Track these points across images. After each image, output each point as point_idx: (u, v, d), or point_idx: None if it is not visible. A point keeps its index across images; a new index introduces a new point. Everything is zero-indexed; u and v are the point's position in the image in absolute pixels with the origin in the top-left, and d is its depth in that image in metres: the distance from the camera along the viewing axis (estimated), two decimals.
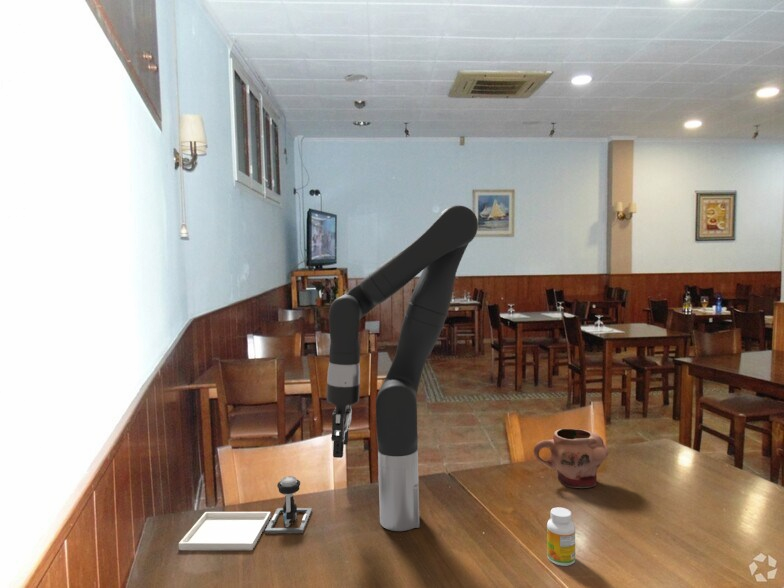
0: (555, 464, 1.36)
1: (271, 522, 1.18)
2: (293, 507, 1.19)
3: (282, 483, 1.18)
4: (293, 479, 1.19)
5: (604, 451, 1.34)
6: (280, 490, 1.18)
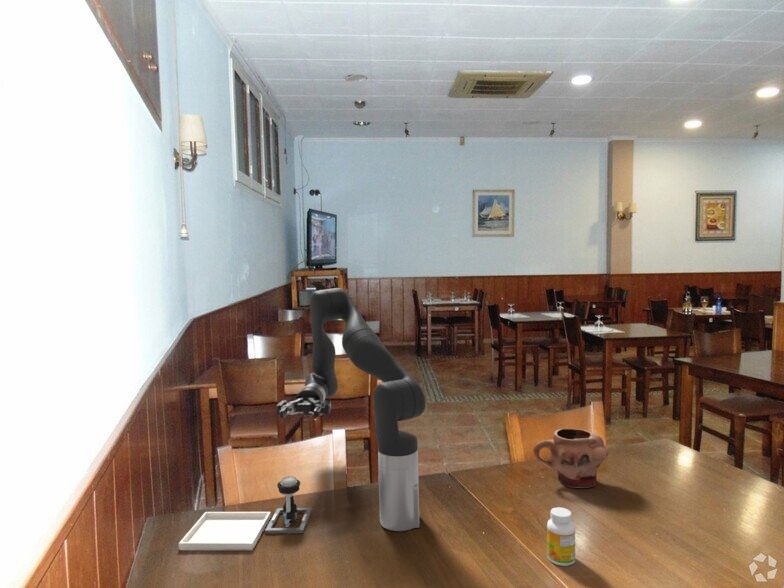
0: (555, 464, 1.36)
1: (271, 522, 1.18)
2: (293, 507, 1.19)
3: (282, 483, 1.18)
4: (293, 479, 1.19)
5: (604, 451, 1.33)
6: (280, 490, 1.18)
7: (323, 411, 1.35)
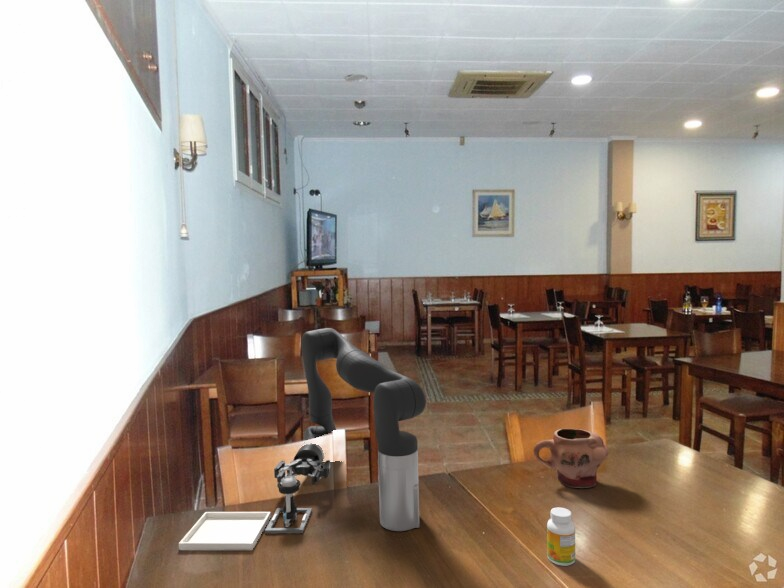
0: (555, 464, 1.36)
1: (271, 522, 1.18)
2: (293, 507, 1.19)
3: (282, 483, 1.18)
4: (293, 479, 1.19)
5: (604, 451, 1.34)
6: (280, 490, 1.18)
7: (322, 475, 1.31)
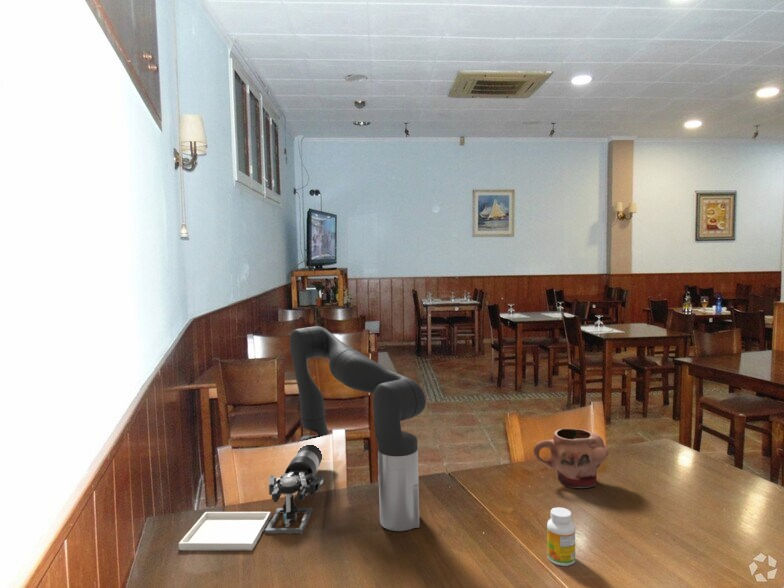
0: (555, 464, 1.36)
1: (271, 522, 1.18)
2: (293, 507, 1.19)
3: (282, 483, 1.18)
4: (293, 479, 1.19)
5: (604, 451, 1.34)
6: (280, 490, 1.18)
7: (308, 491, 1.21)
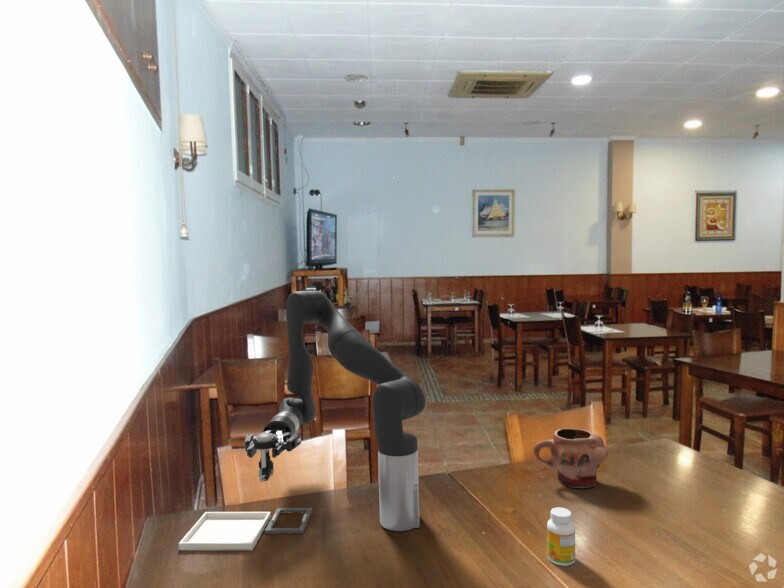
0: (555, 464, 1.36)
1: (271, 522, 1.18)
2: (269, 463, 1.17)
3: (257, 438, 1.17)
4: (269, 435, 1.18)
5: (604, 451, 1.34)
6: (255, 445, 1.16)
7: (284, 448, 1.20)
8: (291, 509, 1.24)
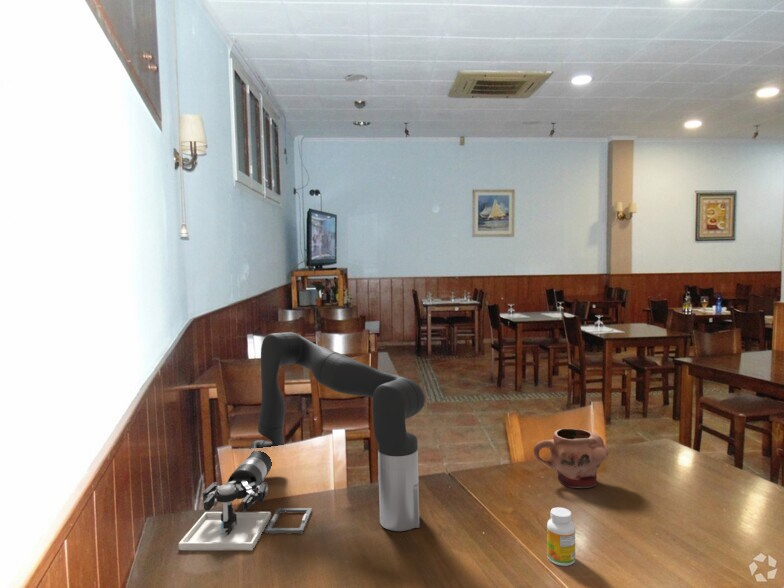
0: (555, 464, 1.36)
1: (271, 522, 1.18)
2: (231, 516, 1.15)
3: (219, 491, 1.14)
4: (231, 487, 1.15)
5: (604, 451, 1.34)
6: (217, 498, 1.14)
7: (255, 499, 1.18)
8: (291, 509, 1.24)
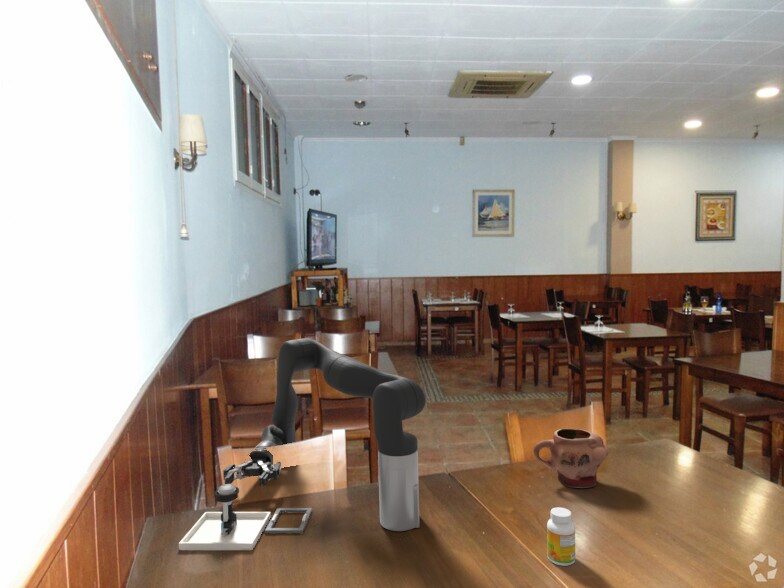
0: (555, 464, 1.36)
1: (271, 522, 1.18)
2: (231, 516, 1.15)
3: (219, 491, 1.14)
4: (231, 487, 1.15)
5: (604, 451, 1.34)
6: (217, 498, 1.14)
7: (271, 476, 1.31)
8: (291, 509, 1.24)
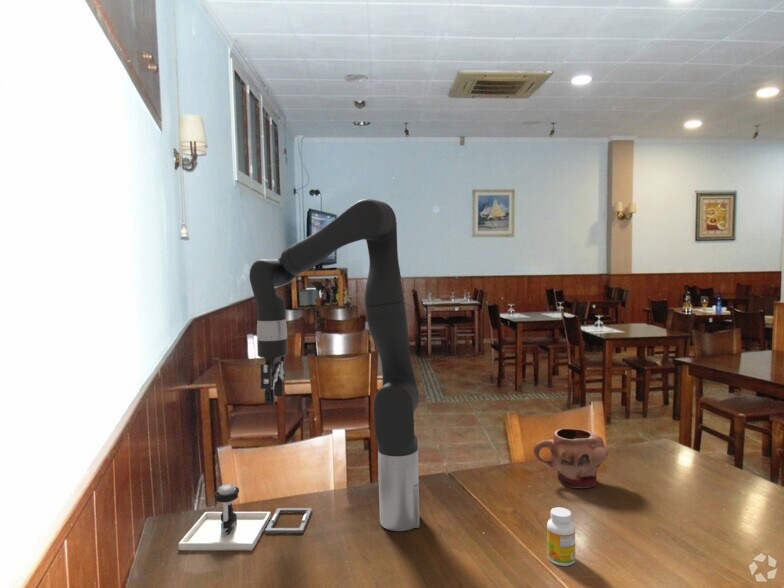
0: (555, 464, 1.36)
1: (271, 522, 1.18)
2: (231, 516, 1.15)
3: (219, 491, 1.14)
4: (231, 487, 1.15)
5: (604, 451, 1.34)
6: (217, 498, 1.14)
7: None
8: (291, 509, 1.24)
